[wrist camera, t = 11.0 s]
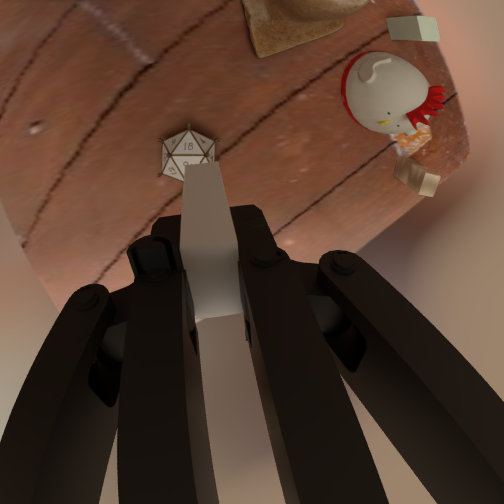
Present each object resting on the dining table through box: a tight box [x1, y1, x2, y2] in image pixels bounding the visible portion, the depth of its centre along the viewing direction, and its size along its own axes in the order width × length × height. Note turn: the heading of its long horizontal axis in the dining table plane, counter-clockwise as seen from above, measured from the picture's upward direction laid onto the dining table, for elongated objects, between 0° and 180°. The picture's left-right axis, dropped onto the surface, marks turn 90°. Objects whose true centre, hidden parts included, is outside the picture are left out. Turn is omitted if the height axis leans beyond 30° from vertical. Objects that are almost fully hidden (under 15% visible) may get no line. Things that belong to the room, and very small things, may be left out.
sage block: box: [386, 16, 440, 41], centre depth 29 cm, size 4×4×8 cm
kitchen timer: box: [341, 51, 445, 136], centre depth 33 cm, size 14×14×15 cm
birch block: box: [393, 156, 441, 197], centre depth 44 cm, size 4×4×8 cm
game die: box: [157, 123, 220, 182], centre depth 37 cm, size 9×8×10 cm
